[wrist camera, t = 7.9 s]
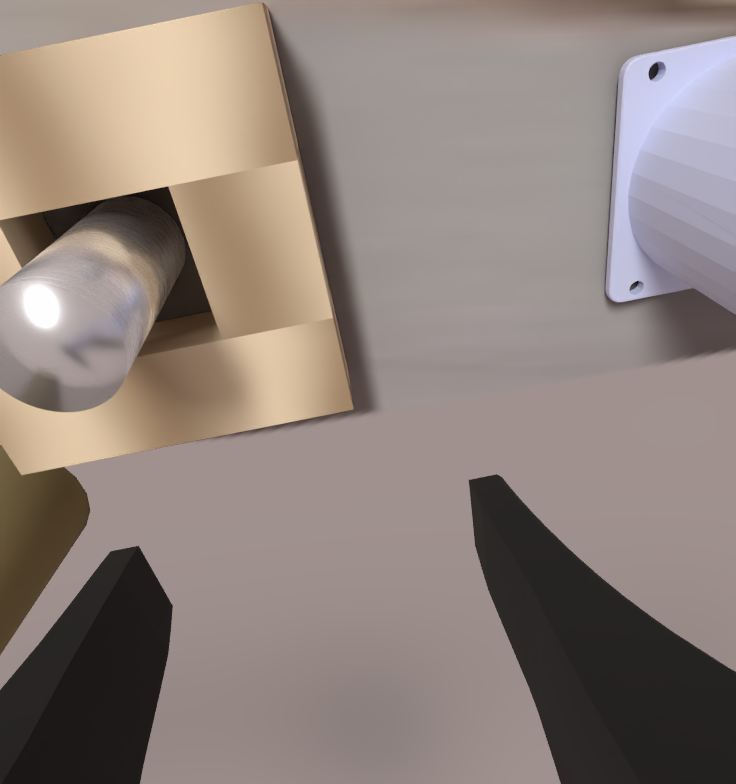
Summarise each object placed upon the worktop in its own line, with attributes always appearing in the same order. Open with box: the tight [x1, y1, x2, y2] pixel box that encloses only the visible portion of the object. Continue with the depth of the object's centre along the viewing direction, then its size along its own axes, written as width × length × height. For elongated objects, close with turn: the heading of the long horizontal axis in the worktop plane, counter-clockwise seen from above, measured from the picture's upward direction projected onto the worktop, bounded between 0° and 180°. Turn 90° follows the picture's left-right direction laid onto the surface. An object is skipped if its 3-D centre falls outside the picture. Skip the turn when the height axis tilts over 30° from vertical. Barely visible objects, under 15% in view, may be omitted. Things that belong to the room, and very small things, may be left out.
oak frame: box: [0, 2, 354, 475], centre depth 18 cm, size 12×12×3 cm
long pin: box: [0, 196, 186, 412], centre depth 16 cm, size 3×3×8 cm
